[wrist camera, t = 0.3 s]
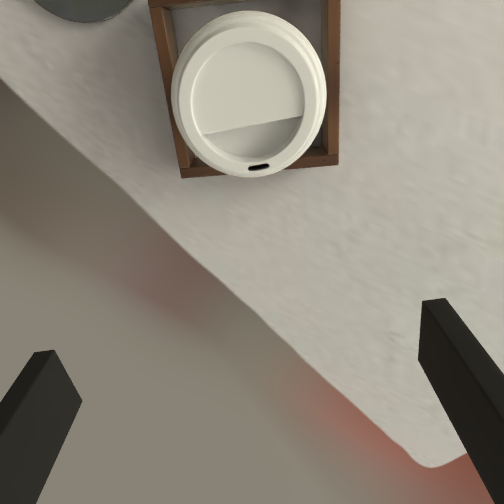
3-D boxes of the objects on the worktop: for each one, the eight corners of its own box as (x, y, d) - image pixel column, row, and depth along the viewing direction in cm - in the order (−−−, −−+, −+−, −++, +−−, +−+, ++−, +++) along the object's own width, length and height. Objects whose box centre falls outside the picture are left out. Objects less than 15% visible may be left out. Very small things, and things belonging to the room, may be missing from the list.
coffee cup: (193, 125, 37) (156, 170, 24) (208, 10, 32) (172, -13, 19) (289, 145, 38) (306, 200, 24) (317, 36, 33) (355, 31, 20)
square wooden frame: (157, -3, 32) (146, -8, 29) (333, -24, 31) (341, -31, 28) (187, 168, 39) (181, 178, 36) (332, 155, 38) (338, 165, 35)
